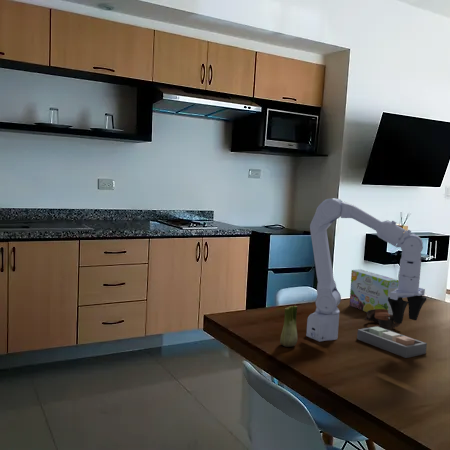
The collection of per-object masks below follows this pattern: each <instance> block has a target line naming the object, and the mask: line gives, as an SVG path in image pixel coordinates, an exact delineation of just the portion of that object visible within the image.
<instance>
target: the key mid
mask: <svg viewBox="0 0 450 450" xmlns="http://www.w3.org/2000/svg"><path fill="white" fill-rule="evenodd" d="M391 331H392V330H390V331H388V332H383V333H382V337H383V338H386V339H388V340H391V341H394V342H396V337H400V333H398V332H395V331H393V332H391ZM394 332H395V333H394ZM397 333H398V334H397Z"/></svg>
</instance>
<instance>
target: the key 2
mask: <svg viewBox="0 0 450 450" xmlns="http://www.w3.org/2000/svg"><path fill="white" fill-rule="evenodd" d="M406 336H407V335H404V336H401V337H396V342H397V343H399V344H402V345H405V346H408V345H413V344H414V341H415V338H413V339H412V337H410V336H407V337H406ZM409 337H410V338H409Z"/></svg>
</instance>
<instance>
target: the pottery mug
mask: <svg viewBox="0 0 450 450" xmlns="http://www.w3.org/2000/svg"><path fill="white" fill-rule="evenodd" d="M365 313H366V316H365V318H364V320H365V321H369V322H374V323H378V324H377V325H373V326H372V327H376V326H378V327H381V328H384V329H387V330H390V331H392V330H394V329H395V328H397V327H399V326H400V325H401V324H399V323H395V322H394V318H393V315H391V314H389V313H388V310H386V309H374V310H369V311H367V312H365ZM388 317H390V319H389V318H388Z"/></svg>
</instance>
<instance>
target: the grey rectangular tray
mask: <svg viewBox="0 0 450 450" xmlns="http://www.w3.org/2000/svg"><path fill="white" fill-rule="evenodd" d="M375 326H376V327H378V326H377V325H375ZM372 327H373V326H369V327H364V328H360V329H359V328H358V329H357V335H356V336H357V337H356V339H357V340H358V341H360V342H363V343H366V344H369V345H372V346H374V347H376V348H379V349H381V350H384V351H386V352H390V353H392V354H395V355H397V356H400V357H402V358H405V359H407V358H408V359H409V358H412V357H416V356H421V355H425V354H427V345H428V343H427V342H423V341H421V340H419V339H415V338H412V337H410V336H407V335H404V334H402V333H401V334H400V333H398V332H395V331H394V330H387V329H386V330H387V331H386V332H388V331H391V332H394V333H397V334H400V337H401V336H406V337H409V338H412V339H415V341H414V344H413V345H408V346H405V345H402V344H399V343H397V342H394V341H391V340H388V339H386V338H383V337H380V336H377V335H375V334H372V333H369V328H372ZM380 328H381V327H380ZM383 329H384V328H383Z"/></svg>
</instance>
